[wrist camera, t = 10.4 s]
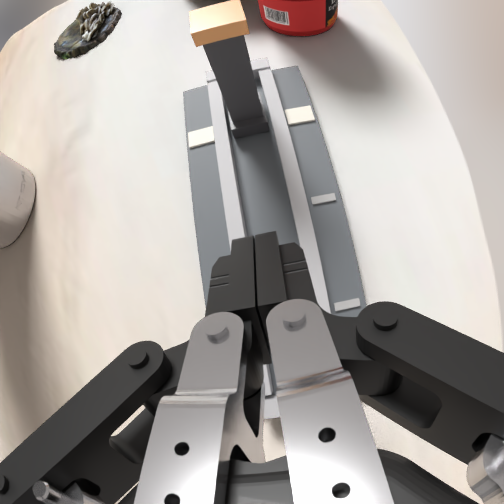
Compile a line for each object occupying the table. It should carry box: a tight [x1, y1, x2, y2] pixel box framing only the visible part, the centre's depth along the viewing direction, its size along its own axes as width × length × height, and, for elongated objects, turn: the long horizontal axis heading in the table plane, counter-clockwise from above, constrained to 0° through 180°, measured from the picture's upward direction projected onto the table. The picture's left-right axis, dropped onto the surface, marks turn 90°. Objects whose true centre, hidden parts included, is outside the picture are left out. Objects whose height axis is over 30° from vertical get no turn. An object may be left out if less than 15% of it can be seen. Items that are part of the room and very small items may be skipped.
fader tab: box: [189, 0, 269, 139], centre depth 18 cm, size 3×3×10 cm
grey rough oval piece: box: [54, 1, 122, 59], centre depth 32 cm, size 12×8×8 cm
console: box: [183, 57, 366, 419], centre depth 21 cm, size 10×26×2 cm, turn 10°
